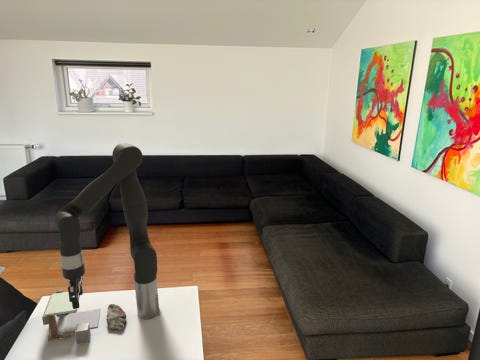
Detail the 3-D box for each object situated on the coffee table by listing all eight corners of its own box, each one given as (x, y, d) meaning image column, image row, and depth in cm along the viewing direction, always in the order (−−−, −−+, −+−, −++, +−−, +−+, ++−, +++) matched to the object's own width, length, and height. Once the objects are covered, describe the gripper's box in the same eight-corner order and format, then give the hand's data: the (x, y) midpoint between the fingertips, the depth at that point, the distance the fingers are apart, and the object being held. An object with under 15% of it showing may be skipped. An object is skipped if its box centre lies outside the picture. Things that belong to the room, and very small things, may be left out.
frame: (77, 309, 154) (73, 287, 151) (69, 337, 137) (65, 313, 134) (57, 312, 152) (53, 290, 149) (47, 341, 135) (43, 316, 132)
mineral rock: (126, 331, 141) (125, 321, 140) (105, 334, 139) (104, 325, 138) (127, 308, 155) (126, 300, 154) (108, 311, 153) (107, 303, 152)
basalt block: (90, 334, 139) (89, 322, 138) (89, 342, 135) (87, 329, 133) (78, 336, 138) (76, 324, 136) (76, 344, 134) (74, 331, 132)
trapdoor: (82, 298, 151) (80, 289, 150) (76, 319, 138) (75, 309, 137) (51, 303, 148) (50, 294, 147) (43, 325, 135) (41, 315, 134)
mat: (100, 309, 154) (100, 308, 154) (97, 327, 143) (97, 326, 143) (68, 314, 151) (68, 313, 151) (63, 333, 140) (63, 332, 140)
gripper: (80, 271, 121) (86, 311, 126) (86, 252, 135) (91, 289, 139) (57, 274, 119) (63, 314, 124) (65, 255, 133) (70, 292, 137)
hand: (78, 301), depth 132 cm, fingers open, 8 cm apart
